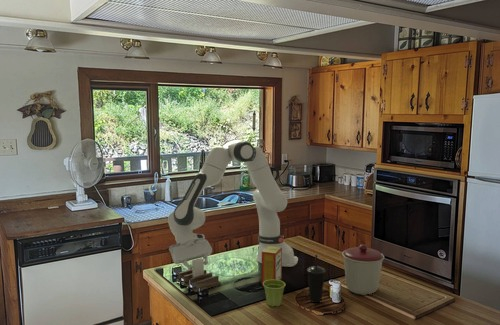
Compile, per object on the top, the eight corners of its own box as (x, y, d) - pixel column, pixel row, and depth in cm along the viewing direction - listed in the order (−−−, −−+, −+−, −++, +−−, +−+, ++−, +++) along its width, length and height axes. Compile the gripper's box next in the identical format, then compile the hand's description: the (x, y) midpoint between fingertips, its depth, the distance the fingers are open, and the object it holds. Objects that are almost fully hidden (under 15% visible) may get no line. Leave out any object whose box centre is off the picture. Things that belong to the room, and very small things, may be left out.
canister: (354, 301, 175) (355, 253, 172) (334, 284, 192) (335, 240, 190) (391, 296, 180) (393, 249, 177) (368, 280, 197) (370, 237, 195)
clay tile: (192, 281, 193) (192, 260, 191) (201, 278, 196) (201, 258, 195) (195, 282, 191) (194, 261, 190) (204, 279, 194) (203, 259, 193)
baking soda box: (274, 286, 190) (275, 252, 188) (261, 284, 193) (261, 250, 191) (281, 279, 199) (281, 246, 197) (268, 276, 202) (269, 245, 200)
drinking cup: (323, 297, 179) (324, 252, 177) (325, 305, 171) (326, 258, 169) (306, 296, 180) (306, 251, 177) (306, 304, 172) (307, 257, 170)
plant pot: (271, 296, 180) (271, 277, 179) (289, 302, 174) (289, 283, 173) (258, 304, 172) (258, 284, 171) (276, 311, 166) (276, 290, 165)
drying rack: (176, 282, 195) (176, 273, 194) (200, 274, 204) (200, 266, 204) (195, 293, 183) (195, 283, 183) (220, 284, 192) (220, 275, 192)
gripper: (170, 242, 190) (182, 269, 183) (206, 233, 203) (219, 258, 197) (165, 249, 193) (177, 275, 187) (201, 240, 207) (213, 264, 201)
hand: (198, 266), depth 192 cm, fingers open, 8 cm apart
